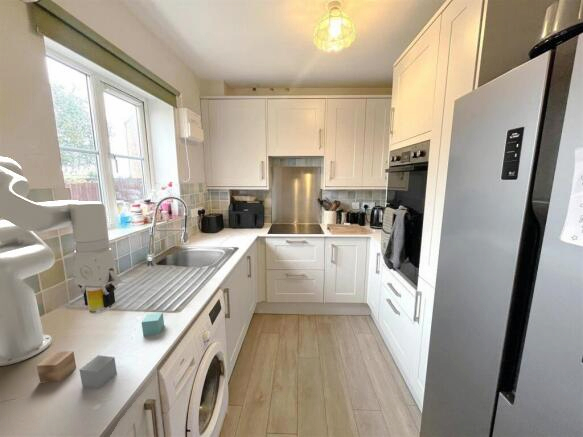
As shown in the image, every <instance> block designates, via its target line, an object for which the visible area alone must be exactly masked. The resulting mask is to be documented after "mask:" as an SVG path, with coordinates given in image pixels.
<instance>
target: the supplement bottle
mask: <svg viewBox="0 0 583 437" xmlns="http://www.w3.org/2000/svg"><path fill="white" fill-rule="evenodd" d="M106 286H107V288H109V284H108V285H106ZM86 295H87V302H88V306H87V307H88V312H89V314H91V315H101V314H103V313H106V312H108V311H110V310H111V309H112V308H113V304H112V305H110V306H109V307H107V308H105V307H104V304H103V297H102V296H103V295H104V292H103V290H102V288H101V287H95V286H86Z"/></svg>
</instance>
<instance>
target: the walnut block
mask: <svg viewBox="0 0 583 437" xmlns="http://www.w3.org/2000/svg"><path fill="white" fill-rule="evenodd" d="M75 357H76V356H75V353H74V350H73V351H71V350H69V351H54V352H53V353H52V354H50V355H49V356H47V357H46V358H44V359H43V360H42V361H40V362H38V364H37V365H36V369H37V374H38V379H39V383H60V382H61V381H62V380H64V379H65V378H66V377H67V376H68V375H69V374H70V373H71V372H72V371H73V370H75V369H76V368H77V365H76V364H77V363H76V359H75Z"/></svg>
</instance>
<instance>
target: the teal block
mask: <svg viewBox="0 0 583 437" xmlns="http://www.w3.org/2000/svg"><path fill="white" fill-rule="evenodd" d="M164 326H165V320H164V313H163V312H155V313H153V312H152V313H147V314H146V315H145V317H144V318H143V320H142V321H141V328H142V335H143V336H144V337H145V336H151V335H159V334H160V333H162V332H161V331H162V330H163V328H164Z"/></svg>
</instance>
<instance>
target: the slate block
mask: <svg viewBox="0 0 583 437" xmlns="http://www.w3.org/2000/svg"><path fill="white" fill-rule="evenodd" d="M115 358H116V357H115V356H108V355H107V356H106V355H99V354H98V355H97V356H95V357H94V358H93V359H90V361H89V362H87V363H86V364H85V365H84V366H82V367H81V368H79V373H80V379H81V380H80V381H81V385H82V387H83V388H89V389H93V390H94V389H95V390H101V389H102V388H103V387H104V386H105V385H106V384H107V383H108V382H109V381H110V380H112V379H113V378H114V377H115V376H116V375H117V364H116V360H115Z"/></svg>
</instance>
